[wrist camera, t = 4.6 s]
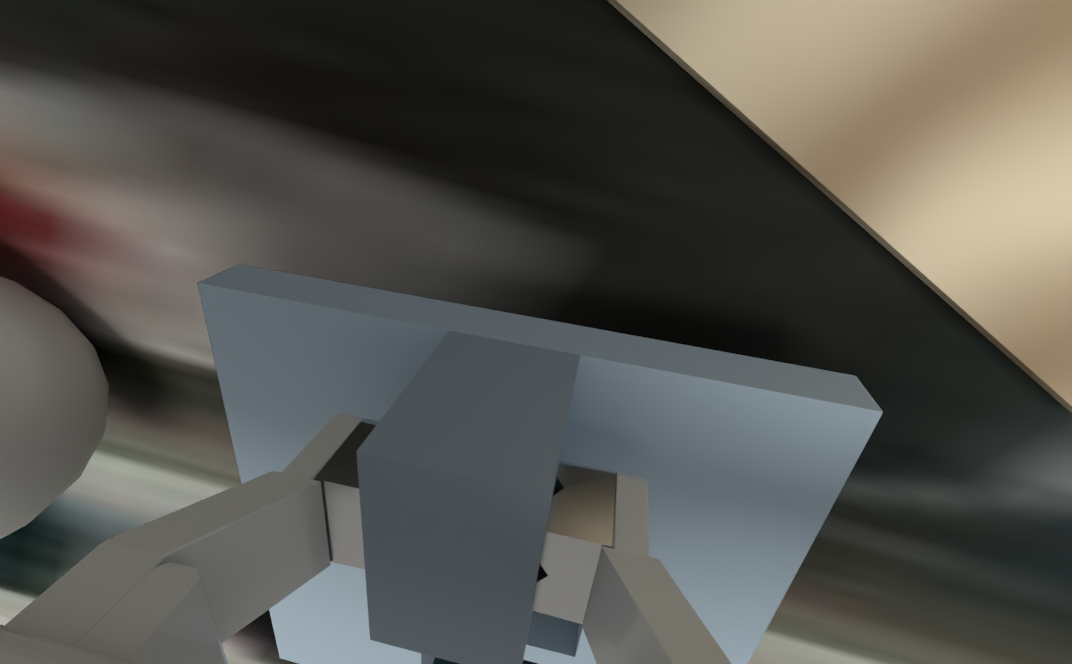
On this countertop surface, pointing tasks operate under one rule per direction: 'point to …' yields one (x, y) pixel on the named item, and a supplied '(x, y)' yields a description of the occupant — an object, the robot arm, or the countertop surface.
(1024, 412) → the countertop surface
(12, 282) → the donut
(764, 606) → the flange plate
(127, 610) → the robot arm
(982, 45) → the post board
